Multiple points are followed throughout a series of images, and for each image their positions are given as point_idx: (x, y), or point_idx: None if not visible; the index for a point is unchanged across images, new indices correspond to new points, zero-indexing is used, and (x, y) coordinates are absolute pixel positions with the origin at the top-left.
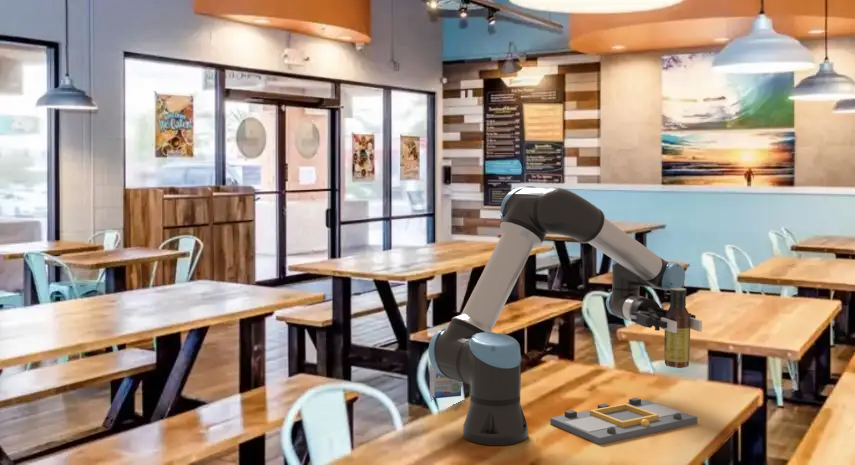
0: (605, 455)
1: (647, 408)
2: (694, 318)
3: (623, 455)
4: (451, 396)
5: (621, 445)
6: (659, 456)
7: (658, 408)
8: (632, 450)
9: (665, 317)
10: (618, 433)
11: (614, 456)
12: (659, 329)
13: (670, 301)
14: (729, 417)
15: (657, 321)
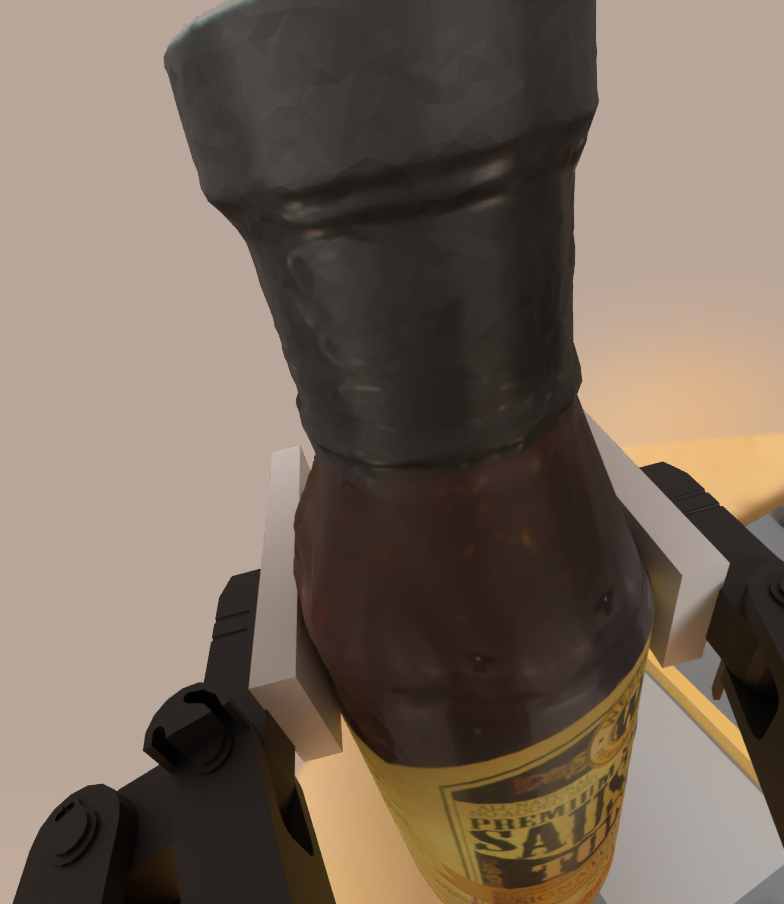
0: (768, 443)
1: (696, 841)
2: (269, 536)
3: (719, 447)
4: None
5: (740, 497)
6: (625, 450)
7: (630, 834)
8: (699, 472)
9: (646, 584)
10: (767, 518)
11: (741, 440)
12: (716, 676)
13: (572, 316)
14: (312, 769)
15: (767, 557)
